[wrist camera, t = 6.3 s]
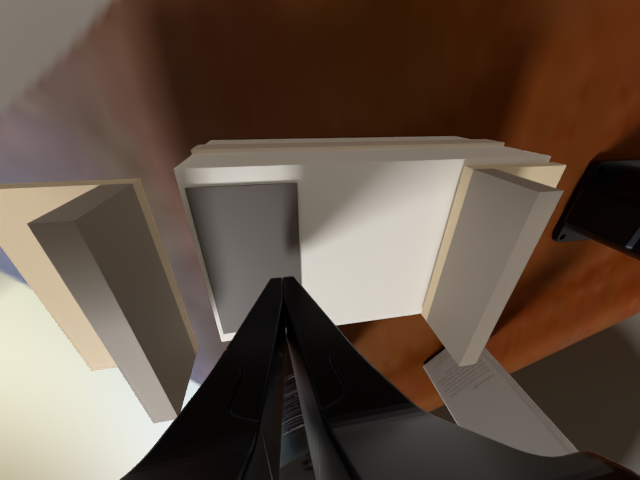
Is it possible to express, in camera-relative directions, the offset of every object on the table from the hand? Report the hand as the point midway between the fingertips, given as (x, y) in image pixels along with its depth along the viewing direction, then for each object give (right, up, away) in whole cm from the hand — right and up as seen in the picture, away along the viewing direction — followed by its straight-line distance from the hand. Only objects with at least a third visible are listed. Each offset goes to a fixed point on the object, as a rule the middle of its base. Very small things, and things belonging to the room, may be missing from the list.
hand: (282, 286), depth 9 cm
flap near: (-6, 0, 0) cm, 6 cm away
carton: (+3, +4, +7) cm, 8 cm away
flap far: (+9, +1, +2) cm, 9 cm away
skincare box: (+16, -10, +18) cm, 26 cm away
